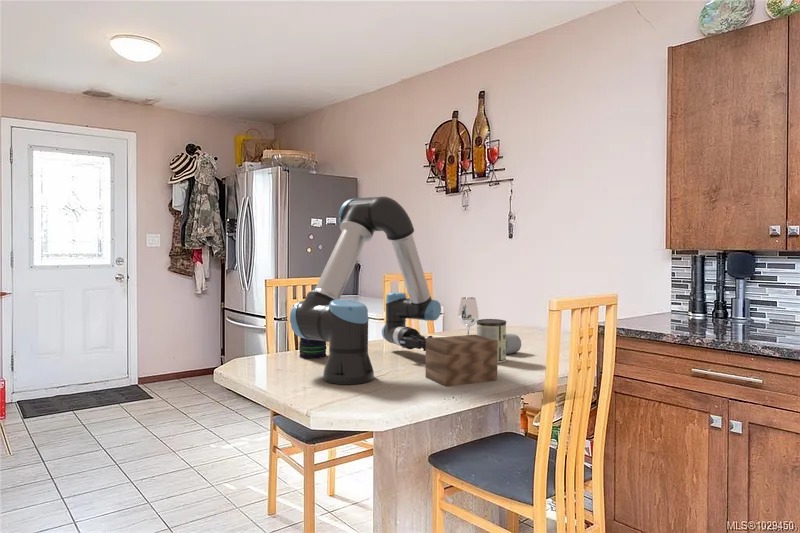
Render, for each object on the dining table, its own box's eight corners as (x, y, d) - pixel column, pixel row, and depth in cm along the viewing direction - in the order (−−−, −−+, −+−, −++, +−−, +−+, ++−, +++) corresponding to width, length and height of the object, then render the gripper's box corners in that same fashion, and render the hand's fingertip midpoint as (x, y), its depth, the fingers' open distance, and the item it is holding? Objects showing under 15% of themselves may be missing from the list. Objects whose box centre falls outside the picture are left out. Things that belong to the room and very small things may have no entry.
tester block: (445, 386, 158) (445, 344, 158) (425, 377, 169) (425, 338, 169) (497, 380, 166) (497, 340, 166) (475, 371, 177) (475, 334, 177)
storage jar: (318, 359, 195) (318, 317, 195) (293, 357, 199) (293, 316, 198) (331, 354, 204) (331, 314, 204) (307, 353, 208) (307, 313, 207)
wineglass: (479, 350, 214) (479, 298, 213) (459, 350, 214) (459, 298, 214) (476, 346, 222) (477, 297, 221) (457, 346, 222) (457, 296, 221)
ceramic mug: (522, 353, 208) (522, 333, 208) (507, 356, 203) (507, 335, 203) (502, 350, 216) (502, 330, 216) (487, 352, 212) (487, 332, 212)
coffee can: (475, 357, 201) (476, 318, 200) (504, 358, 200) (505, 319, 199) (476, 363, 191) (477, 322, 190) (507, 363, 190) (507, 322, 189)
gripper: (422, 346, 205) (456, 358, 183) (390, 349, 199) (421, 361, 178) (422, 326, 204) (456, 335, 183) (390, 328, 199) (421, 338, 177)
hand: (438, 348), depth 180 cm, fingers closed
